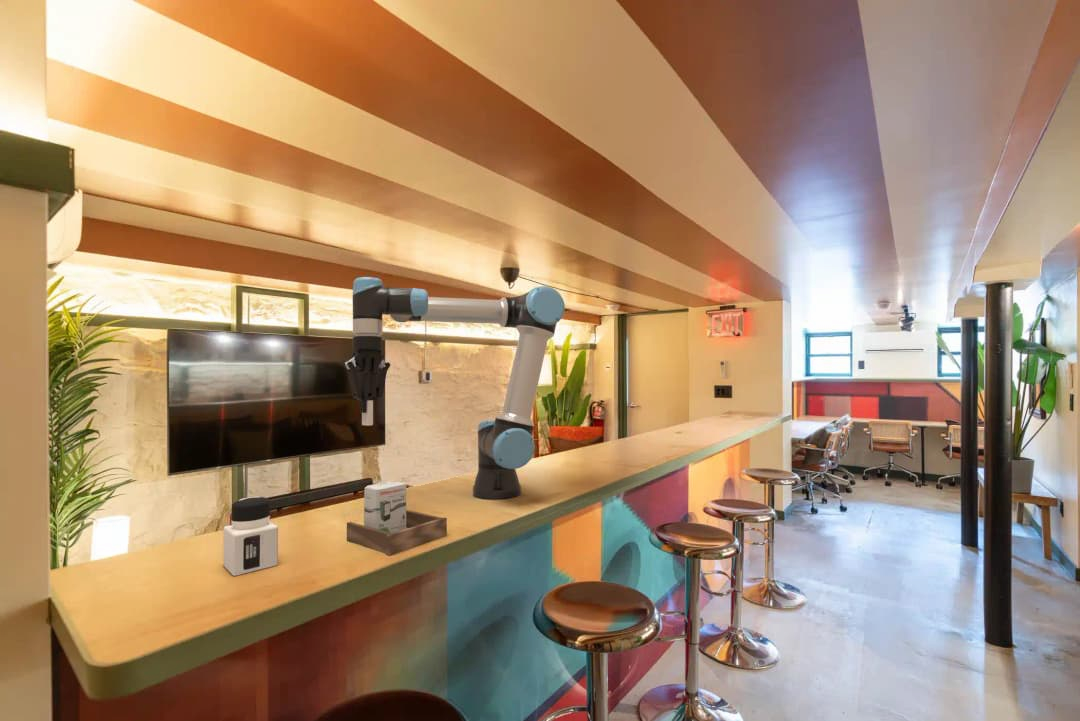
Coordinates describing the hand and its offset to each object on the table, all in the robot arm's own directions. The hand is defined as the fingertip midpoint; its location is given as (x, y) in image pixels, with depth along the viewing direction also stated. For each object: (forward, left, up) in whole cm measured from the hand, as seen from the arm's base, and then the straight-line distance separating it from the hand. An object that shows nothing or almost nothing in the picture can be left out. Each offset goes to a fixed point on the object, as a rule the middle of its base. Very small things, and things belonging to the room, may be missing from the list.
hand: (367, 425), depth 130 cm
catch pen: (+6, +20, -24) cm, 32 cm away
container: (+33, +10, -25) cm, 42 cm away
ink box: (+6, +16, -25) cm, 30 cm away
